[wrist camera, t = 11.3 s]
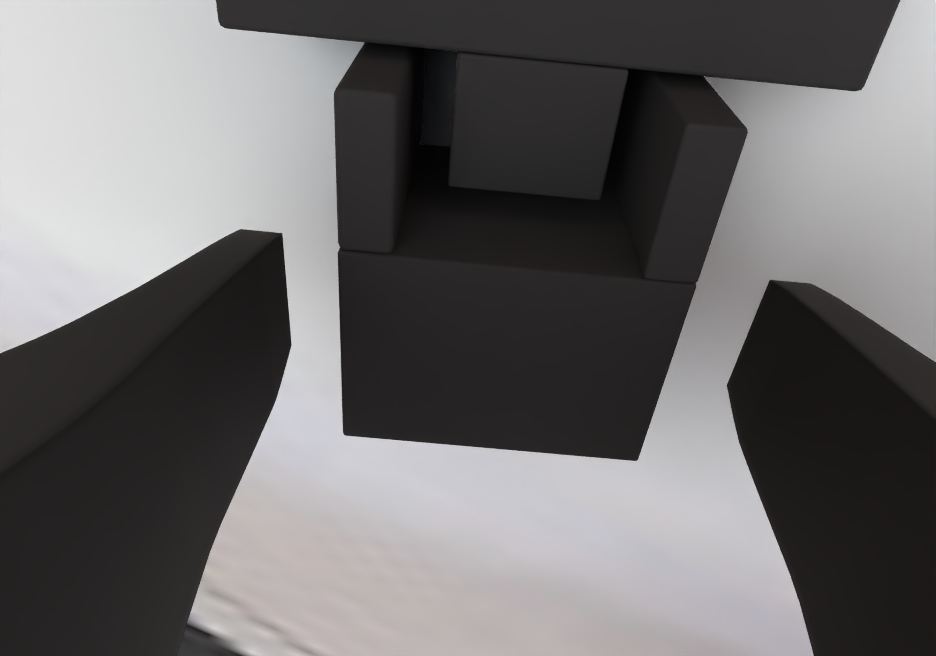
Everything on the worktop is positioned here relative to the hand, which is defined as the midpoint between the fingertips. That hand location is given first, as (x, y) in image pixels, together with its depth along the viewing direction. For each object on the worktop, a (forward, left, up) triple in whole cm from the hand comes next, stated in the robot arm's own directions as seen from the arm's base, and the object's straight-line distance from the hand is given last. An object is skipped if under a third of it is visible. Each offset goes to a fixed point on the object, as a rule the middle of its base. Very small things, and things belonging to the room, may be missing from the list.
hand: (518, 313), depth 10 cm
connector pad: (0, 0, -4) cm, 4 cm away
